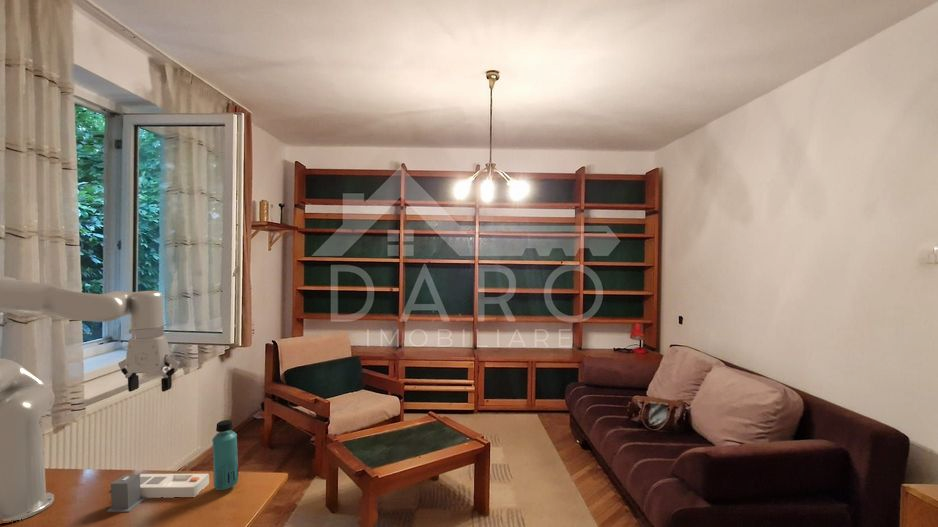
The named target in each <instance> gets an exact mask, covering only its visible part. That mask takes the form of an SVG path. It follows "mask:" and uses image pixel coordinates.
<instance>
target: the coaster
mask: <svg viewBox="0 0 938 527" xmlns="http://www.w3.org/2000/svg"><path fill="white" fill-rule="evenodd" d="M146 499H147V498H146V497H141V499H140V500H139V501H137V502H136V503H135V504H134V505H132V506H131V507H130V508H129V509H112V506H110V508H108V509H106V513H130V512H131V511H132V510H134V509H135V508H136V507H137V506H139V505H140V504H141V503H142V502H144V501H145V500H146Z"/></svg>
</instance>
